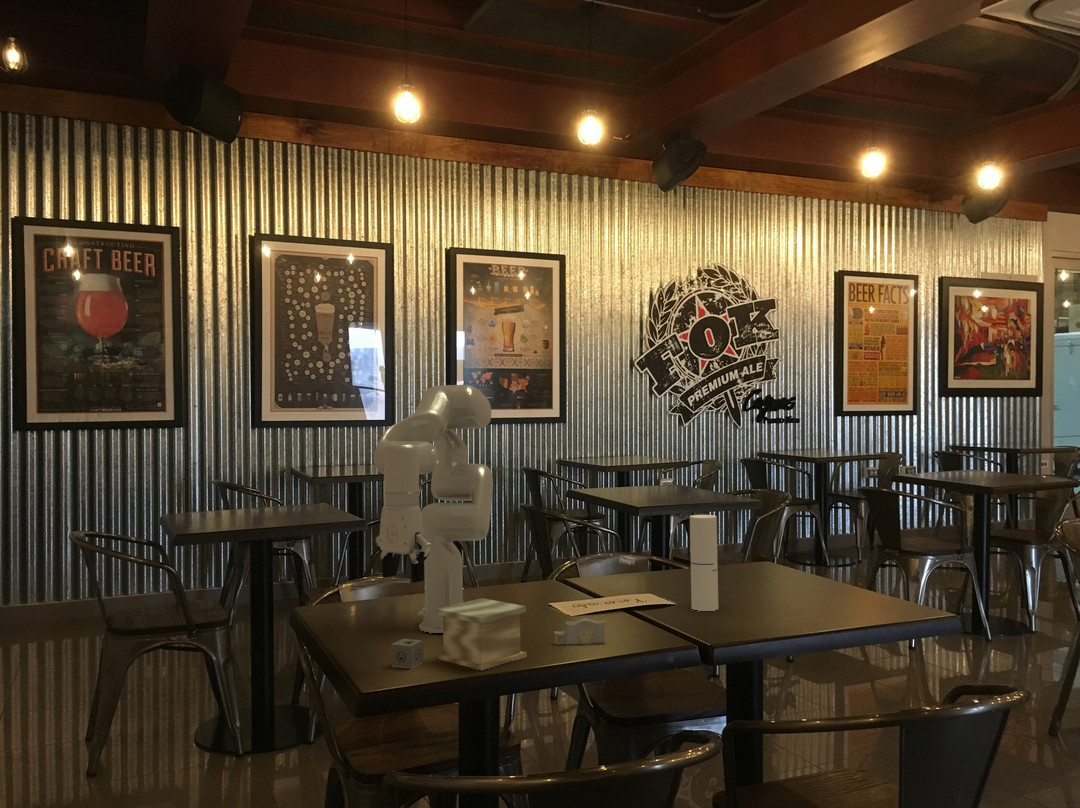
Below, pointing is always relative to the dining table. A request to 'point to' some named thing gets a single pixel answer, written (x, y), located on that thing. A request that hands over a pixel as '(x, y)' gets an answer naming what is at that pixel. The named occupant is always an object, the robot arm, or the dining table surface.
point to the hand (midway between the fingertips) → (403, 579)
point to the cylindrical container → (704, 562)
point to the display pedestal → (481, 633)
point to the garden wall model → (575, 628)
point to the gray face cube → (407, 652)
